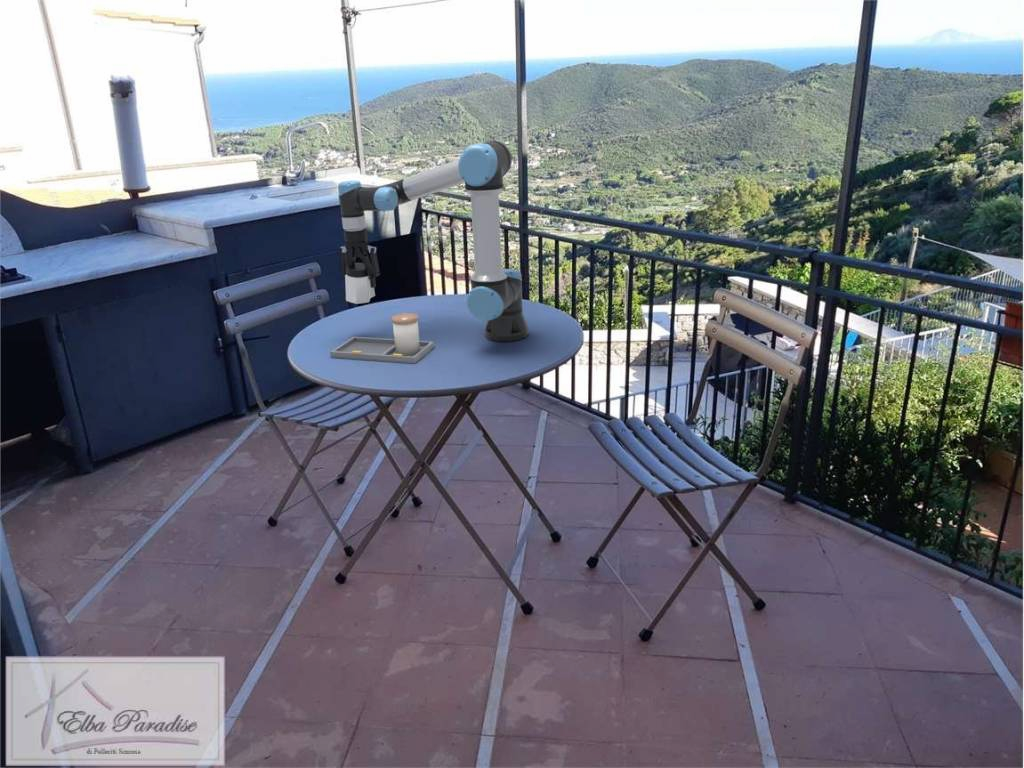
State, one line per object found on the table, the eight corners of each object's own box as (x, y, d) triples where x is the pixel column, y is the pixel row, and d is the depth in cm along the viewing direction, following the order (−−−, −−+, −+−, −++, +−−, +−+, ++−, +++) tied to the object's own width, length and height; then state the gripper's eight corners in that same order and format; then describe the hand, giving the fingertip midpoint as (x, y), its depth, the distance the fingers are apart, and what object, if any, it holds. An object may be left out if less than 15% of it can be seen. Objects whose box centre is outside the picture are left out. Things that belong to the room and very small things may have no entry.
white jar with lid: (424, 349, 246) (421, 313, 242) (414, 357, 239) (411, 321, 235) (401, 347, 249) (398, 312, 244) (390, 355, 241) (387, 319, 237)
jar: (350, 305, 254) (349, 271, 248) (342, 297, 260) (340, 264, 254) (375, 301, 258) (374, 268, 252) (366, 293, 264) (365, 261, 258)
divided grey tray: (434, 347, 250) (433, 340, 249) (415, 363, 235) (414, 356, 234) (354, 342, 258) (353, 334, 257) (330, 357, 244) (329, 350, 243)
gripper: (385, 226, 249) (393, 294, 258) (335, 227, 255) (344, 293, 263) (375, 231, 243) (383, 300, 251) (324, 231, 248) (333, 298, 257)
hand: (363, 296), depth 257 cm, fingers closed on jar, 6 cm apart
